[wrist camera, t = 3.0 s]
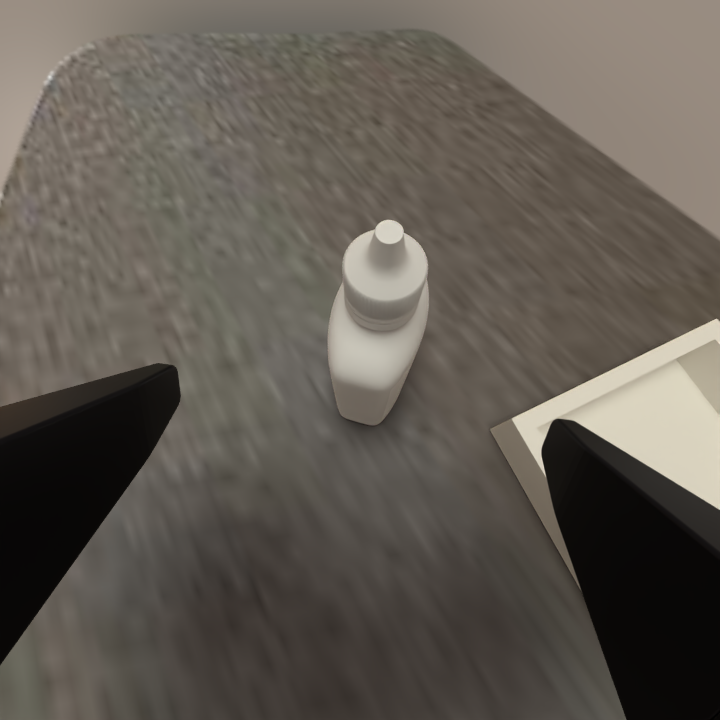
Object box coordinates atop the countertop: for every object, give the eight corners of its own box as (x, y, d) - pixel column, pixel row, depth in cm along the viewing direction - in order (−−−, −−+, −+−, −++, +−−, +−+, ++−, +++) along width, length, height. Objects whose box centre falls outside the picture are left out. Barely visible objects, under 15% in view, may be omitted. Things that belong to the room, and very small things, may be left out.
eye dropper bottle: (437, 365, 21) (531, 217, 10) (364, 440, 20) (373, 369, 8) (378, 314, 22) (402, 123, 11) (305, 381, 21) (242, 247, 9)
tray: (830, 551, 18) (918, 562, 15) (629, 677, 16) (687, 716, 14) (669, 341, 21) (716, 318, 19) (489, 429, 20) (511, 418, 17)
